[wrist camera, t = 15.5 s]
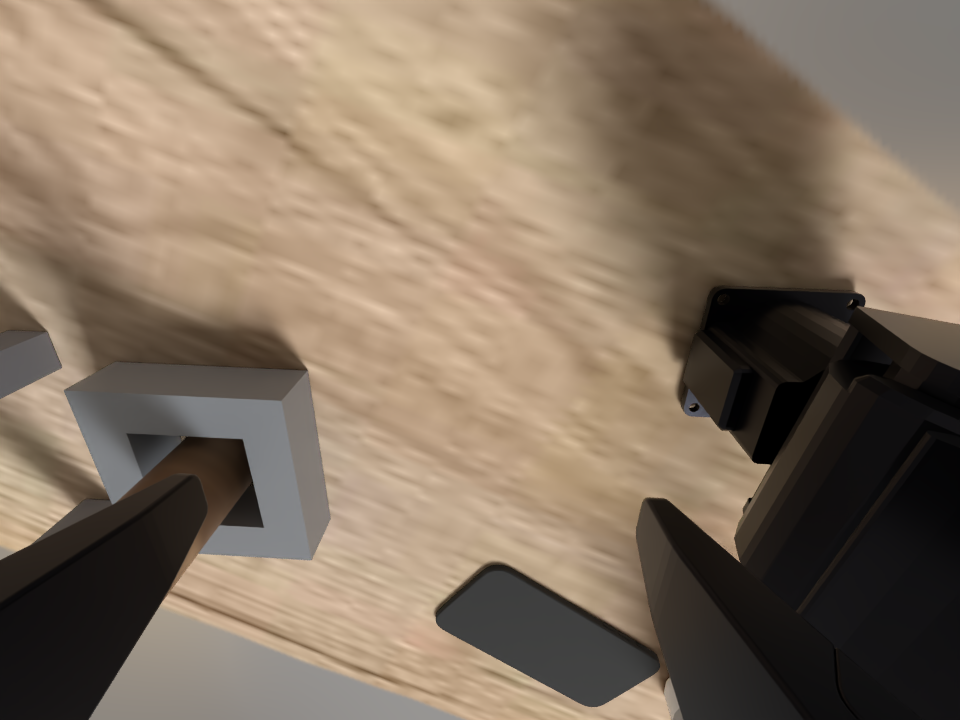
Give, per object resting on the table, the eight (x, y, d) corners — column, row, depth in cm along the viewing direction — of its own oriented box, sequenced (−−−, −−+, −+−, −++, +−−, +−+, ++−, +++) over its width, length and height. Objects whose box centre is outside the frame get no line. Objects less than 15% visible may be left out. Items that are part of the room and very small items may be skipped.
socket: (307, 370, 23) (281, 400, 20) (330, 518, 27) (311, 560, 24) (115, 361, 23) (63, 390, 20) (168, 509, 27) (131, 549, 25)
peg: (231, 403, 24) (-30, 652, 12) (283, 456, 25) (92, 726, 14) (181, 435, 25) (-105, 692, 13) (233, 484, 26) (16, 757, 15)
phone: (496, 563, 28) (668, 666, 31) (496, 552, 28) (664, 654, 32) (428, 623, 30) (593, 711, 34) (430, 611, 31) (591, 699, 34)
